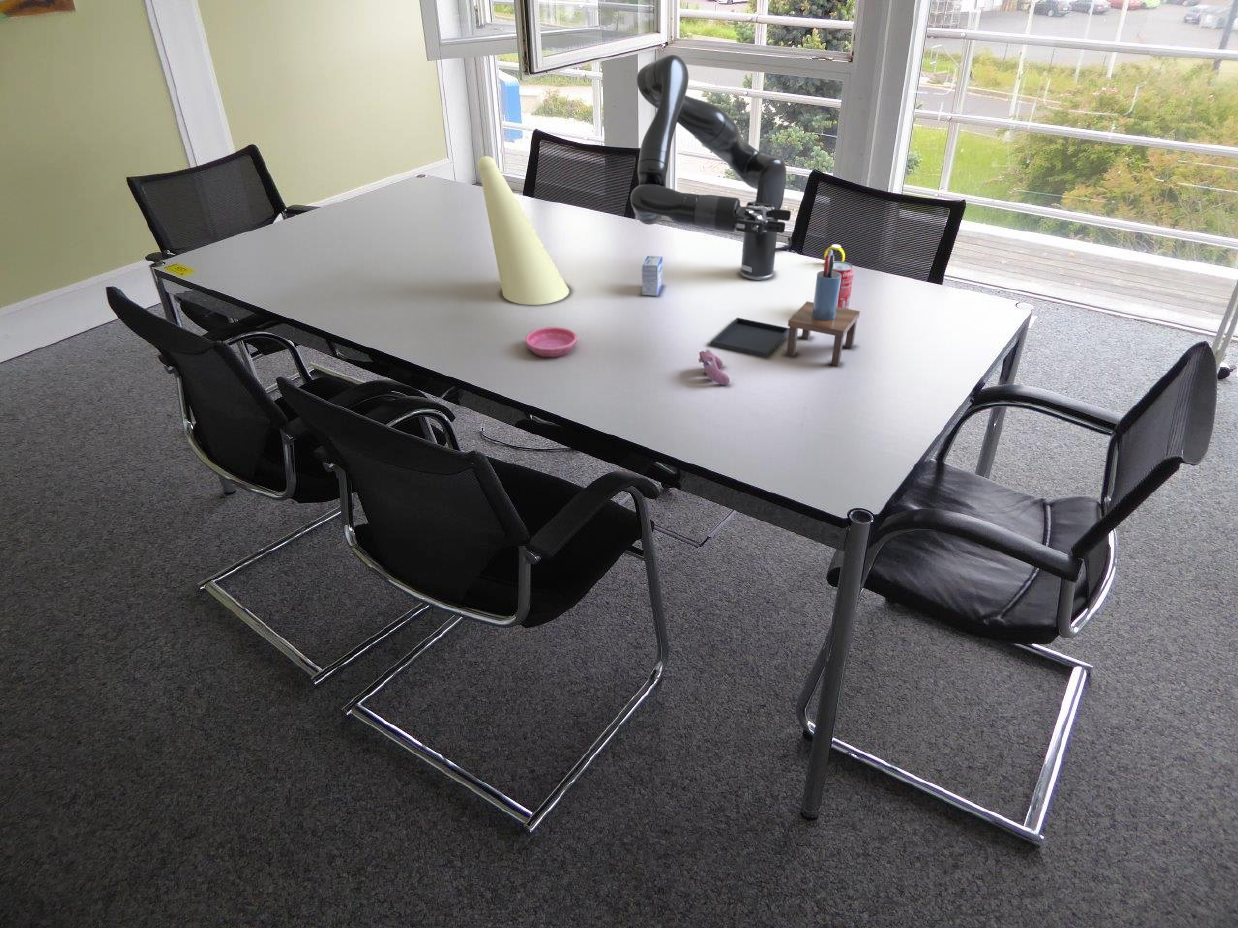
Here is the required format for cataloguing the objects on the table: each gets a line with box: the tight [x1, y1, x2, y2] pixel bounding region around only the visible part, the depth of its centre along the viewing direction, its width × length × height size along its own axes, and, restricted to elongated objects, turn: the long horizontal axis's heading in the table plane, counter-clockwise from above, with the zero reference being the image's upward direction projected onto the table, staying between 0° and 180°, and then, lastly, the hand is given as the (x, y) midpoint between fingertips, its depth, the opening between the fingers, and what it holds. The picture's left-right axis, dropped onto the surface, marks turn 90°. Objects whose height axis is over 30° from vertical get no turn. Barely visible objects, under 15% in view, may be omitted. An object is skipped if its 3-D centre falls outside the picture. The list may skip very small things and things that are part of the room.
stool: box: [786, 300, 861, 367], centre depth 205 cm, size 13×13×9 cm
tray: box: [710, 317, 789, 358], centre depth 213 cm, size 16×14×1 cm
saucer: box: [524, 326, 578, 358], centre depth 208 cm, size 12×12×3 cm
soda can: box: [833, 260, 854, 309], centre depth 222 cm, size 7×7×13 cm
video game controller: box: [698, 348, 731, 386], centre depth 195 cm, size 10×5×7 cm, turn 5°
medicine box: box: [641, 255, 663, 297], centre depth 238 cm, size 8×4×9 cm, turn 168°
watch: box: [823, 243, 846, 262], centre depth 254 cm, size 6×3×6 cm, turn 53°
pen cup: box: [812, 249, 841, 320], centre depth 198 cm, size 5×5×16 cm
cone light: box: [477, 155, 570, 306], centre depth 232 cm, size 25×18×35 cm
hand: (787, 221), depth 195 cm, fingers open, 8 cm apart
